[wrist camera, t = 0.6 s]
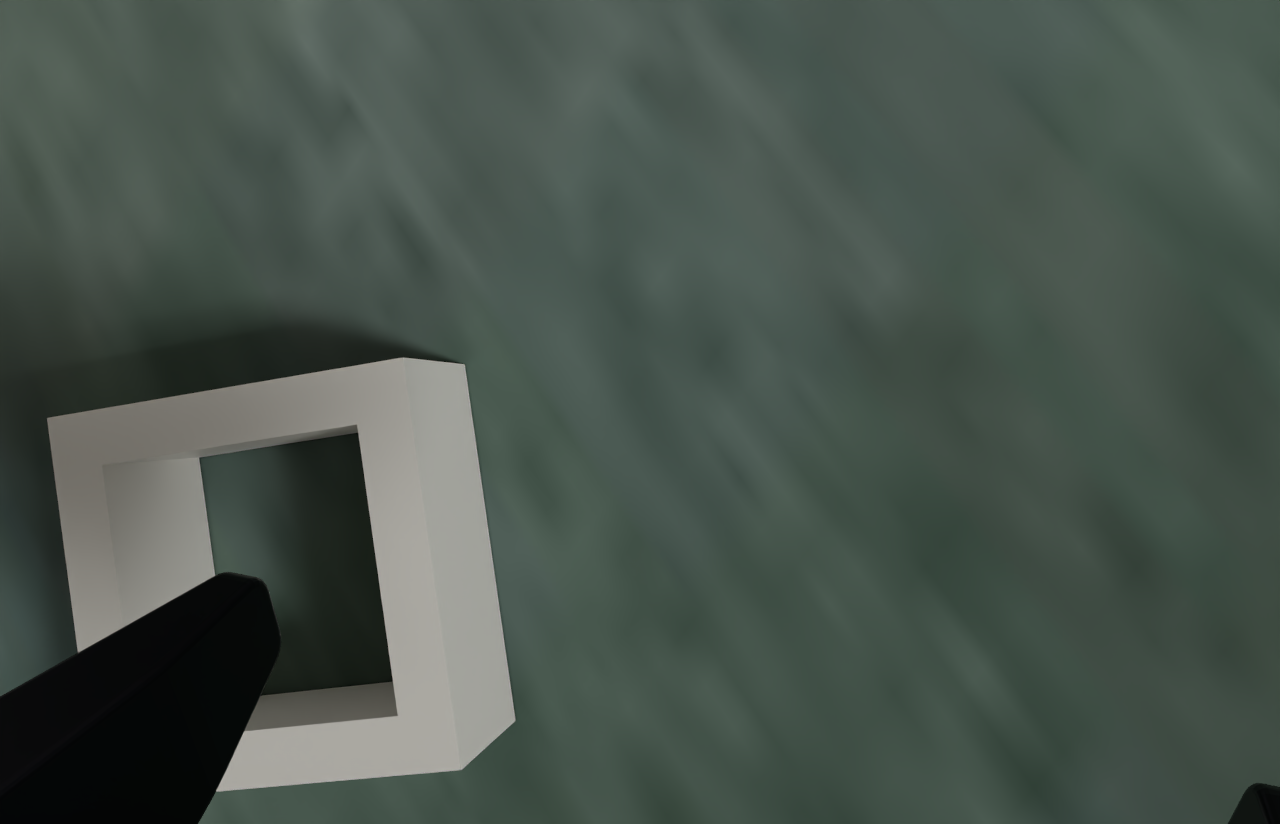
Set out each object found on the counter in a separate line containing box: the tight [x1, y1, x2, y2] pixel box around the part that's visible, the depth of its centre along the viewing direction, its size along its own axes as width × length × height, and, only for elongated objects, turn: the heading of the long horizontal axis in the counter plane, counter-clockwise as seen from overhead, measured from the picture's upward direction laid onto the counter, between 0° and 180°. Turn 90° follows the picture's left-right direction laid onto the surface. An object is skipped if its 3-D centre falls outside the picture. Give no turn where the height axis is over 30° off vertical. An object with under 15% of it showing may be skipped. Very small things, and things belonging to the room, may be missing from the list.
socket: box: [47, 357, 515, 791], centre depth 24 cm, size 8×8×4 cm
